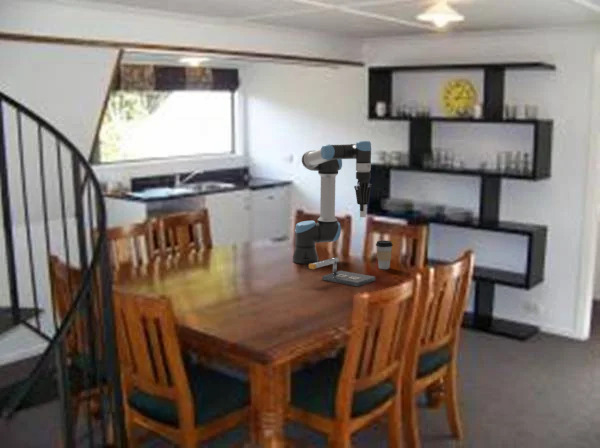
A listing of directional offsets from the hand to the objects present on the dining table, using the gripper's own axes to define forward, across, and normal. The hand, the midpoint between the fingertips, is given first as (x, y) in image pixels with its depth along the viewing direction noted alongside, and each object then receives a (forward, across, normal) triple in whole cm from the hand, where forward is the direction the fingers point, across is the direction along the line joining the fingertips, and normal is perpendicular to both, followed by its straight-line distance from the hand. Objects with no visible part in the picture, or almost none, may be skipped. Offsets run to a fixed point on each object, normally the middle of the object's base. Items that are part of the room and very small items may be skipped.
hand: (362, 217), depth 342 cm
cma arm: (+24, -17, +12) cm, 32 cm away
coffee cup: (+33, +27, +4) cm, 43 cm away
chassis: (+32, -8, +3) cm, 34 cm away
